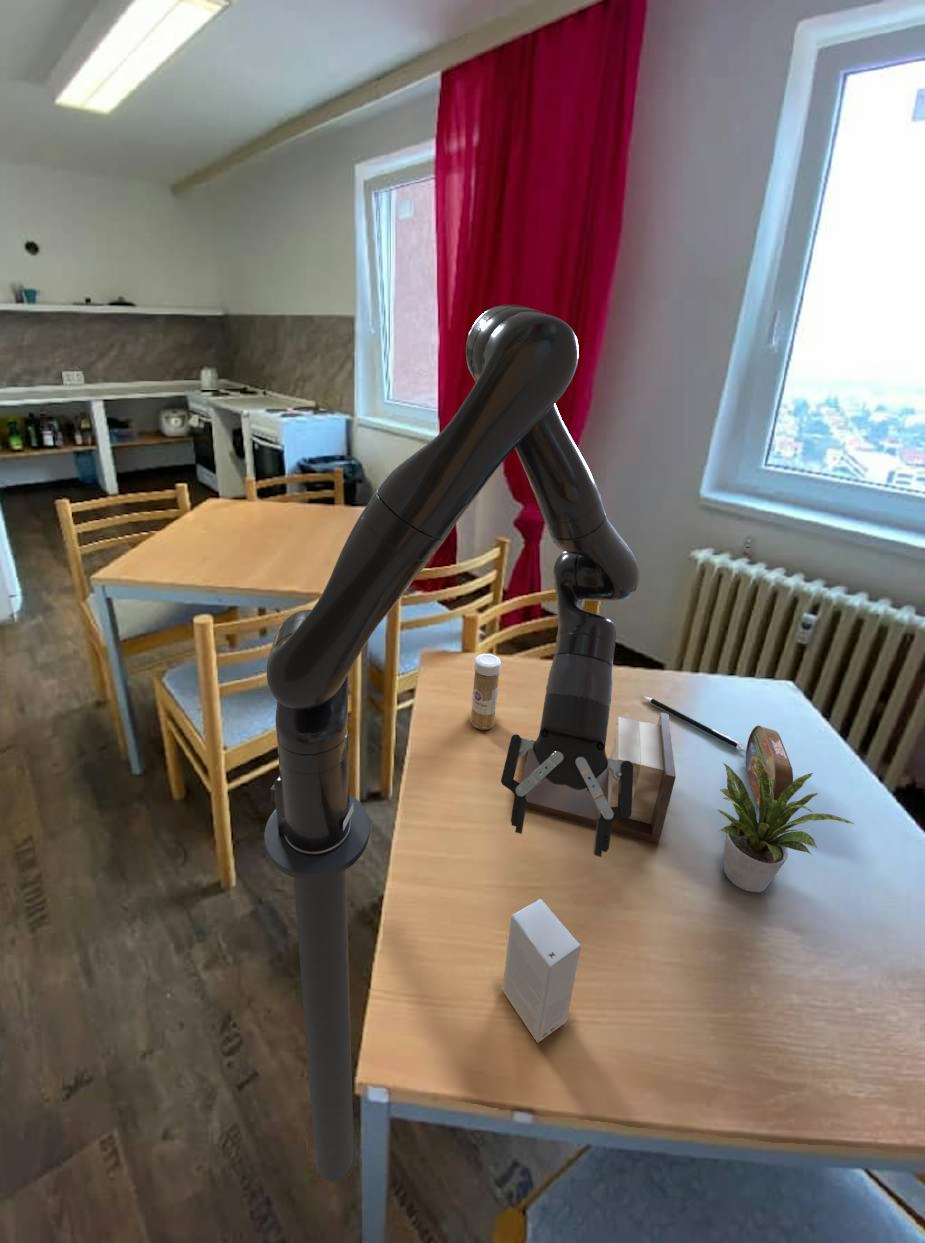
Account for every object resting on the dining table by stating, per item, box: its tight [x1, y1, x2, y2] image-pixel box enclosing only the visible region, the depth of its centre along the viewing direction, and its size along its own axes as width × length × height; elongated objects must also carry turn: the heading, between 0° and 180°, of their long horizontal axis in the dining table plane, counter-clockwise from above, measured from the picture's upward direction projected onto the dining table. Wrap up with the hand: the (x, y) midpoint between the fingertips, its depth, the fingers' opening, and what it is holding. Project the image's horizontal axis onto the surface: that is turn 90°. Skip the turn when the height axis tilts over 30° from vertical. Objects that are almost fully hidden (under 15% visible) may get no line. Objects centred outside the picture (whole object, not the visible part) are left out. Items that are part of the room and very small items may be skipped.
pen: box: [643, 695, 746, 752], centre depth 106 cm, size 1×19×1 cm, turn 39°
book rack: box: [521, 712, 677, 844], centre depth 89 cm, size 20×14×12 cm
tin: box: [744, 725, 794, 808], centre depth 91 cm, size 15×3×8 cm, turn 161°
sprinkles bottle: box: [469, 653, 502, 731], centre depth 103 cm, size 5×5×14 cm
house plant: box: [717, 751, 855, 893], centre depth 75 cm, size 14×14×16 cm
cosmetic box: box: [501, 898, 581, 1044], centre depth 60 cm, size 6×4×12 cm
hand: (557, 844), depth 65 cm, fingers open, 8 cm apart
